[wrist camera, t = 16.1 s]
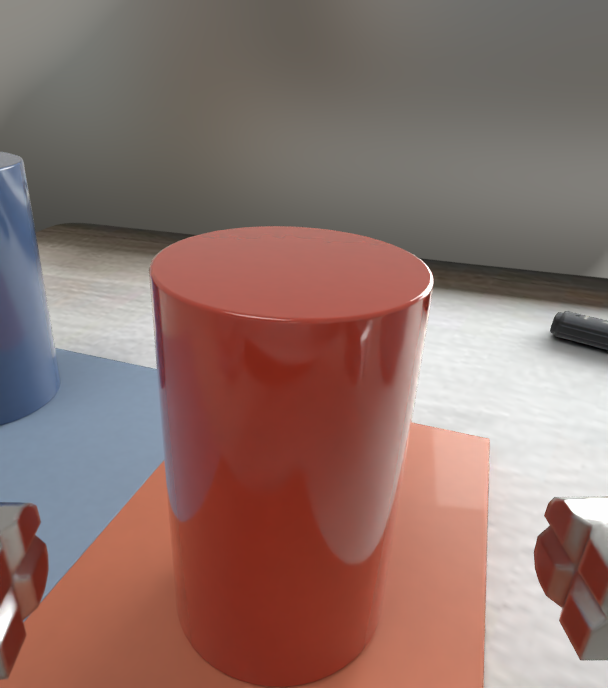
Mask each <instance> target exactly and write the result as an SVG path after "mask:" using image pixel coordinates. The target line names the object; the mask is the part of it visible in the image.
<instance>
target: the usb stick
mask: <svg viewBox="0 0 608 688" xmlns="http://www.w3.org/2000/svg"><path fill="white" fill-rule="evenodd" d="M550 332H551V333H554V335H555V336H556V337H559V338H564V339H567V340H571V341H575V342H580V343H584V344H587V345H591V346H594V347H597V348H601V349H605V350H608V321H607V320H603V319H598V318H594V317H590V316H586V315H581V314H577V313H573V312H569V311H565V312H564V313H561V312H558V313H557V314H556V315H555V317H554V320H553V323H552V325H551V329H550Z"/></svg>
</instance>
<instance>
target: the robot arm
mask: <svg viewBox="0 0 608 688" xmlns="http://www.w3.org/2000/svg"><path fill="white" fill-rule="evenodd" d="M544 516H545V518H546V519H547V521H548V523H549V524H550V526H549V527H548V528H547V529H546V530H544V531H543V532H542V533H541V534H540V535H539V536H538V538H537V542H536V546H535V549H534V560H535V570H536V573H537V577H538V580H539V583H540V585H541V587H542V589H543V591H544V593H545V595H546V596H547V597H548V598H550V599H551V600H552V601H554V602H555V603H556V604H558V605H559V606H560V607H562V610H561V615H560V619H559V621H560V623H561V625H562V627H563V629H564V630H565V632H566V634H567V636H568V638H569V640H570V642H571V644H572V645H573V647H574V649H575V651H576V653H577V655H578V657H579V658H580V660H608V496H591V497H554V498H553V499H552V500H551V501H550V502H549V503H548V506H547V509H546V512H545V515H544ZM40 523H41V520H40V516H39V512H38V509H37V505H34V504H32V503H22V502H0V680H4V679H8V678H9V676H10V673H11V671H12V669H13V666H14V664H15V662H16V659H17V657H18V654H19V652H20V650H21V647H22V645H23V643H24V640H25V638H26V636H27V635H26V631H25V627H24V623H23V620H24V619H25V618H26V617H28V616H29V615H30V614H31V613H32V612H34V611H35V610H36V609H37V608H38V607H39V604H40V601H41V599H42V596H43V594H44V591H45V587H46V582H47V576H48V571H49V562H48V551H47V546H46V543H44V542H43V541H42V540H41V539H40V538H39V537H37V536H36V535H35V534H36V532H37V530H38V528H39V525H40Z"/></svg>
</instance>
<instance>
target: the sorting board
mask: <svg viewBox="0 0 608 688" xmlns="http://www.w3.org/2000/svg"><path fill="white" fill-rule="evenodd" d="M55 350H56V355H57V361H58V367H59V373H60V379H61V384H60V388H59V390H58V392H57V394H56V395H55V396H54V398H53V399H52V400H51V401H50V402H48V403H47V404H46V405H45V406H43V407H42V408H40V409H39V410H37V411H35V412H33V413H32V414H30V415H28V416H25V417H23V418H21V419H18V420H16V421H13V422H10V423H7V424H4V425H0V502H22V503H32V504H34V505H37V509H38V512H39V516H40V520H41V523H40V525H39V528H38V530H37V532H36V534H35V535H36V536H37V537H39V538H40V539H41V540H42V541H43V542H44V543H46V546H47V551H48V562H49V571H48V576H47V582H46V587H45V591H44V594H43V596H42V599H41V601H40V604H39V607H38V608H37V609H36V610H35V611H34V612H32V613H31V614H30V615H29V616H28V617H26V618H25V619H24V620H23V623H24V627H25V631H26V635H27V636H26V638H25V640H24V643H23V645H22V647H21V650H20V652H19V654H18V657H17V659H16V662H15V664H14V666H13V669H12V671H11V673H10V676H9V678H8V679H4V680H0V688H483V679H484V639H485V600H486V560H487V521H488V481H489V441H490V440H489V439H488V438H483V437H478V436H474V435H469V434H464V433H459V432H455V431H450V430H445V429H440V428H435V427H431V426H426V425H421V424H416V423H411V430H410V436H409V442H408V448H407V454H406V461H405V467H404V473H403V479H402V486H401V492H400V498H399V504H398V510H397V517H396V523H395V529H394V535H393V542H392V548H391V554H390V560H389V566H388V573H387V579H386V585H385V591H384V598H383V604H382V610H381V616H380V619H379V622H378V626H377V628H376V630H375V632H374V634H373V636H372V638H371V640H370V641H369V643H368V644H367V645H366V647H365V648H364V649H363V651H362V652H361V653H360V654H359V655H358V656H357V657H356V658H355V659H354V660H353V661H351V662H350V663H349V664H347V665H346V666H345V667H344V668H342V669H340V670H339V671H337V672H335V673H334V674H332V675H330V676H328V677H325V678H323V679H320V680H318V681H315V682H311V683H307V684H303V685H297V686H289V687H268V686H261V685H254V684H251V683H247V682H243V681H240V680H237V679H235V678H233V677H230V676H228V675H226V674H224V673H223V672H221V671H219V670H218V669H216V668H214V667H213V666H212V665H210V664H209V663H208V662H207V661H206V660H204V659H203V658H202V657H201V656H200V655H199V654H198V653H197V651H196V650H195V649H194V648H193V647H192V645H191V644H190V642H189V641H188V639H187V638H186V636H185V634H184V632H183V630H182V628H181V625H180V622H179V618H178V615H177V608H176V598H175V586H174V573H173V561H172V549H171V536H170V524H169V512H168V499H167V487H166V475H165V462H164V450H163V438H162V425H161V413H160V401H159V388H158V376H157V369H153V368H149V367H144V366H139V365H134V364H129V363H125V362H120V361H115V360H110V359H106V358H101V357H96V356H91V355H86V354H82V353H77V352H72V351H67V350H63V349H58V348H55Z"/></svg>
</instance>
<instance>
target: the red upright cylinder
mask: <svg viewBox="0 0 608 688" xmlns="http://www.w3.org/2000/svg"><path fill="white" fill-rule="evenodd" d="M149 277H150V290H151V302H152V314H153V327H154V339H155V351H156V364H157V376H158V388H159V401H160V413H161V425H162V438H163V450H164V462H165V475H166V487H167V499H168V512H169V524H170V536H171V549H172V561H173V573H174V586H175V598H176V608H177V615H178V618H179V622H180V625H181V628H182V630H183V632H184V634H185V636H186V638H187V639H188V641H189V642H190V644H191V645H192V647H193V648H194V649H195V650H196V651H197V653H198V654H199V655H200V656H201V657H202V658H203V659H204V660H206V661H207V662H208V663H209V664H210V665H212V666H213V667H214V668H216V669H218V670H219V671H221V672H223V673H224V674H226V675H228V676H230V677H233V678H235V679H237V680H240V681H243V682H247V683H251V684H254V685H261V686H268V687H289V686H297V685H303V684H307V683H311V682H315V681H318V680H320V679H323V678H325V677H328V676H330V675H332V674H334V673H335V672H337V671H339V670H340V669H342V668H344V667H345V666H346V665H347V664H349V663H350V662H351V661H353V660H354V659H355V658H356V657H357V656H358V655H359V654H360V653H361V652H362V651H363V649H364V648H365V647H366V645H367V644H368V643H369V641H370V640H371V638H372V636H373V634H374V632H375V630H376V628H377V626H378V622H379V619H380V616H381V610H382V604H383V598H384V591H385V585H386V579H387V573H388V566H389V560H390V554H391V548H392V542H393V535H394V529H395V523H396V517H397V510H398V504H399V498H400V492H401V486H402V479H403V473H404V467H405V461H406V454H407V448H408V442H409V436H410V430H411V423H412V417H413V411H414V405H415V398H416V392H417V386H418V380H419V374H420V367H421V361H422V355H423V349H424V342H425V336H426V330H427V324H428V318H429V311H430V305H431V299H432V293H433V286H434V279H433V275H432V272H431V270H430V269H429V267H428V266H427V265H426V264H425V263H424V262H423V261H422V260H421V259H419V258H418V257H416V256H415V255H413V254H411V253H409V252H407V251H406V250H404V249H401V248H399V247H396V246H394V245H391V244H389V243H386V242H383V241H380V240H376V239H372V238H369V237H365V236H361V235H356V234H351V233H345V232H339V231H333V230H325V229H317V228H304V227H273V226H270V227H248V228H236V229H228V230H221V231H214V232H210V233H205V234H201V235H197V236H193V237H189V238H186V239H184V240H181V241H178V242H176V243H174V244H171V245H169V246H168V247H166V248H164V249H163V250H161V251H160V252H159V253H158V254H157V255H156V256H155V257H154V258H153V260H152V261H151V264H150V268H149Z"/></svg>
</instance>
